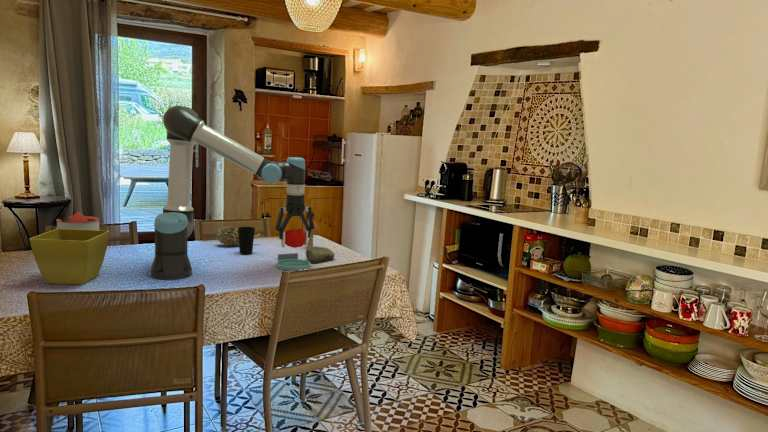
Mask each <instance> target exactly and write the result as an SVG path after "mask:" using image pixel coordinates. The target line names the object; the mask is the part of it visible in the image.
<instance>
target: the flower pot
mask: <svg viewBox="0 0 768 432" xmlns="http://www.w3.org/2000/svg"><path fill="white" fill-rule="evenodd" d="M109 237H110V231H109V230H100V229H99V230H82V229H56V228H55V229H52V230H50V231H47V232H44V233H41V234H39V235H36V236H32V237H30V238H29V243H30V248H31V251H32V253H33V257H34V260H35V262H36V265H37V268H38V270H39V272H40V274H41V276H42V277H43V278H42V279H43V280H44V282H45V283H46V284H54V285H64V284H65V285H84V284H86V283H88V282H89V281H91V280H93V279H94V278H96V277H98V276H99V274H100V271H101V269H102V266H103V263H104V259H105V257H106V252H107V249H108V244H109Z"/></svg>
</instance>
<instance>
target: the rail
mask: <svg viewBox="0 0 768 432" xmlns="http://www.w3.org/2000/svg"><path fill="white" fill-rule="evenodd" d="M284 259H299V253H298V252H292V253H291V252H290V253H289V252H287V253H277V261H280V260H284Z"/></svg>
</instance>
